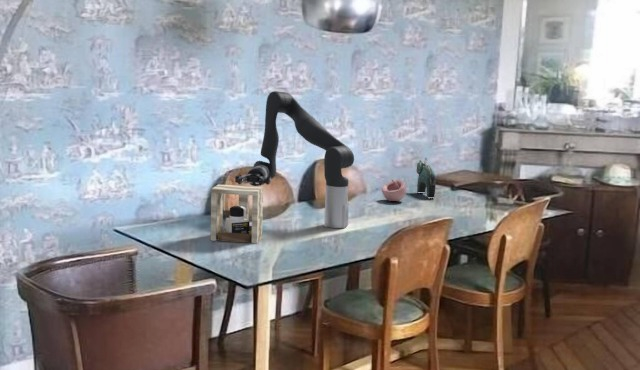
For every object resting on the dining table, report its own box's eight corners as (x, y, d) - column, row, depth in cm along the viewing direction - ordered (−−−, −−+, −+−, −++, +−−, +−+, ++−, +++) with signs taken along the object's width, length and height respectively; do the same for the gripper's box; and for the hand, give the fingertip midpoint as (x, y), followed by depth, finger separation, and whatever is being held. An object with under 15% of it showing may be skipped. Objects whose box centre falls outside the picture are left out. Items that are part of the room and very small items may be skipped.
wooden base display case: (229, 228, 278) (230, 191, 275) (259, 230, 277) (260, 193, 274) (217, 240, 259) (218, 201, 257) (249, 242, 258) (250, 202, 255)
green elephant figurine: (414, 192, 374) (416, 155, 370) (425, 192, 375) (427, 155, 372) (426, 199, 355) (428, 160, 351) (438, 199, 356) (440, 160, 352)
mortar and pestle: (376, 200, 347) (377, 178, 345) (392, 198, 355) (393, 176, 353) (394, 205, 338) (395, 181, 336) (410, 202, 346) (411, 179, 344)
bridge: (217, 234, 270) (218, 184, 266) (262, 236, 268) (263, 186, 265) (210, 240, 260) (211, 189, 257) (256, 243, 258) (257, 191, 255)
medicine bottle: (231, 240, 260) (231, 209, 258) (225, 236, 266) (225, 205, 264) (249, 239, 263) (250, 208, 261) (242, 234, 269) (243, 204, 267)
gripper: (241, 166, 299) (232, 172, 283) (274, 168, 297) (267, 174, 282) (240, 183, 300) (232, 190, 284) (273, 185, 299) (266, 192, 283)
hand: (249, 182), depth 283 cm, fingers open, 8 cm apart
